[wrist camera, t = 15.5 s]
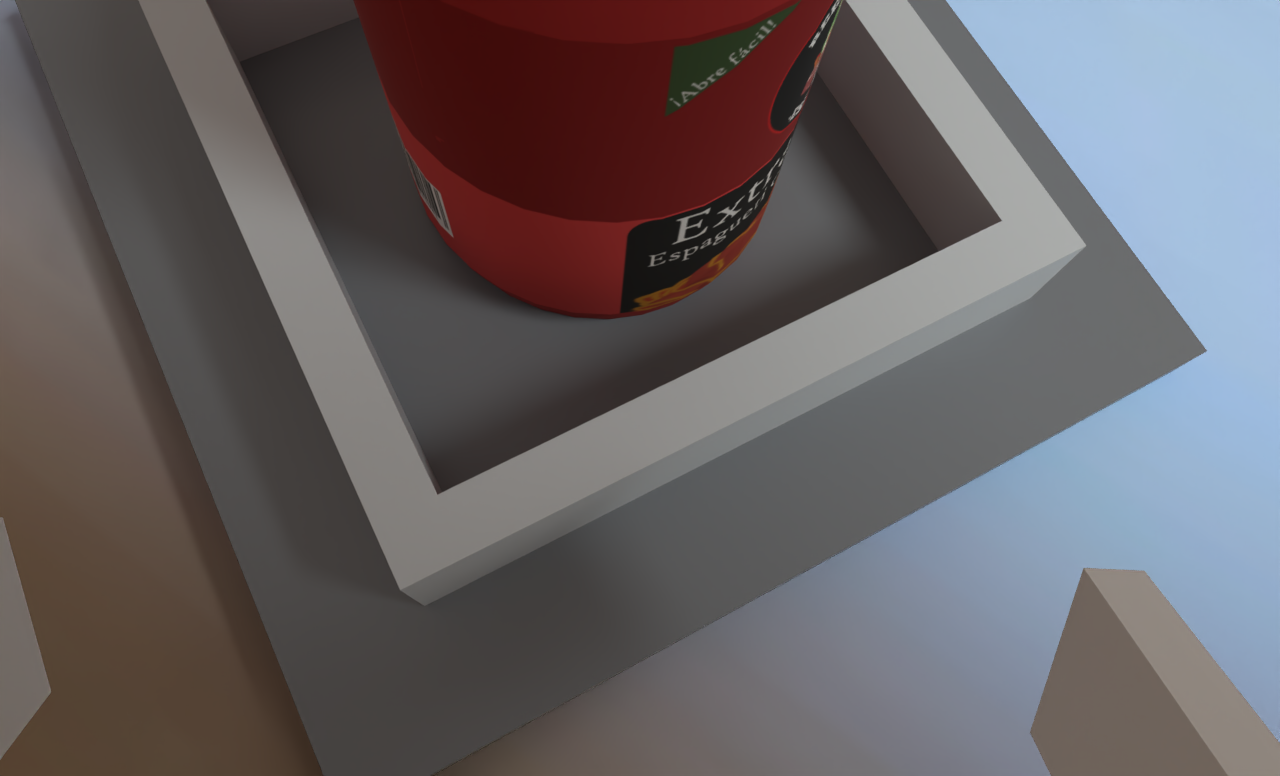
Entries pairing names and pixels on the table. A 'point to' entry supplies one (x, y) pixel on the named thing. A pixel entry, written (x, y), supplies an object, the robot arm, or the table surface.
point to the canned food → (596, 135)
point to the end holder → (573, 357)
